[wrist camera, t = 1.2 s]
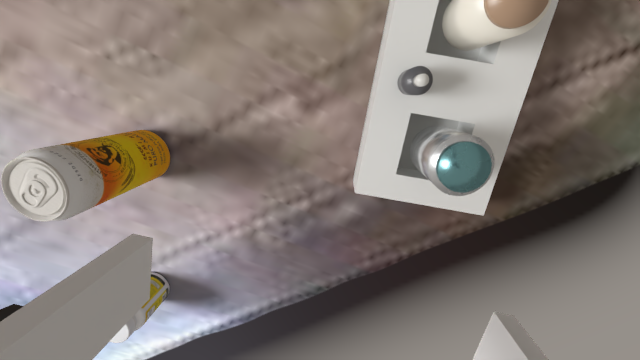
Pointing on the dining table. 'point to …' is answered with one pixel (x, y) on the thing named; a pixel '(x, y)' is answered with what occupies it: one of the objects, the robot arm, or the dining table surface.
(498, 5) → the cream knob
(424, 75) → the pot post
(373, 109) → the mount
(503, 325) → the robot arm
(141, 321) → the supplement bottle
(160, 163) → the beer can
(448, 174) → the metal knob
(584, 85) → the dining table surface
